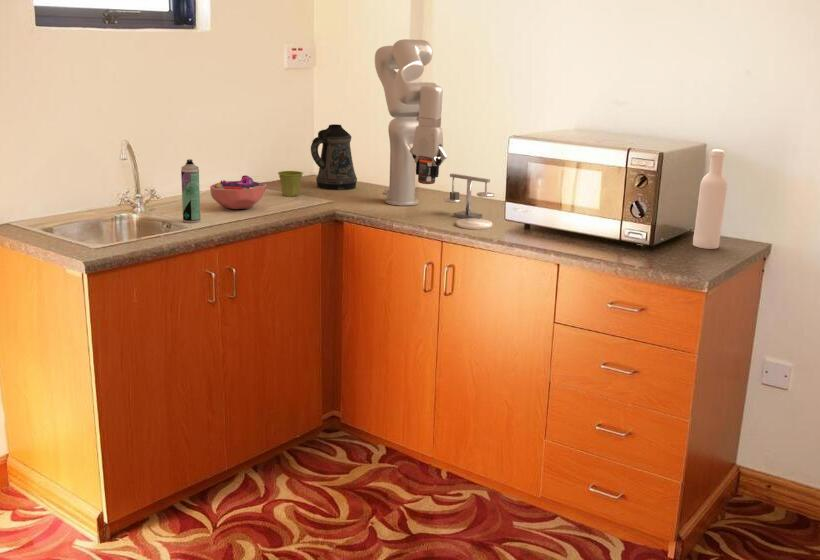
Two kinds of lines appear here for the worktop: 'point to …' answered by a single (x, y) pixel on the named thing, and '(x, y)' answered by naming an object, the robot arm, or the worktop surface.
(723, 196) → the bottle
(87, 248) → the worktop surface
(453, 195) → the balance
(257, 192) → the cell model
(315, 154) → the beer stein
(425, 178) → the supplement bottle
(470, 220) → the dish
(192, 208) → the spray can
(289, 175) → the plant pot
